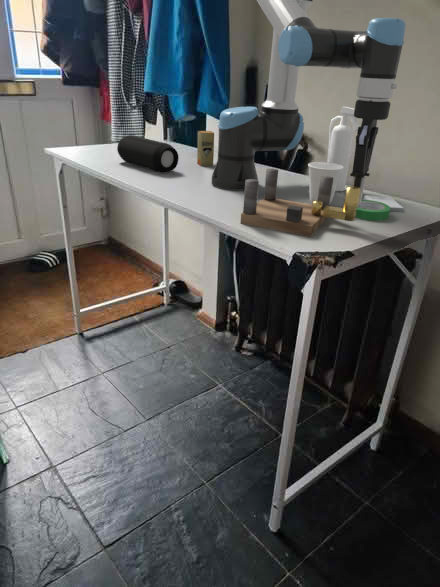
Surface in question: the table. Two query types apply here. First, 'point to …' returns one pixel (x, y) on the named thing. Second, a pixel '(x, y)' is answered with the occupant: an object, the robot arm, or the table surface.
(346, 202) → the leg
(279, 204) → the wooden peg board
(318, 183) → the cup
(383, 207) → the tape roll
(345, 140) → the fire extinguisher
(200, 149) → the shoe polish box
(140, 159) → the portable speaker
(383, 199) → the external hard drive
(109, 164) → the table surface
